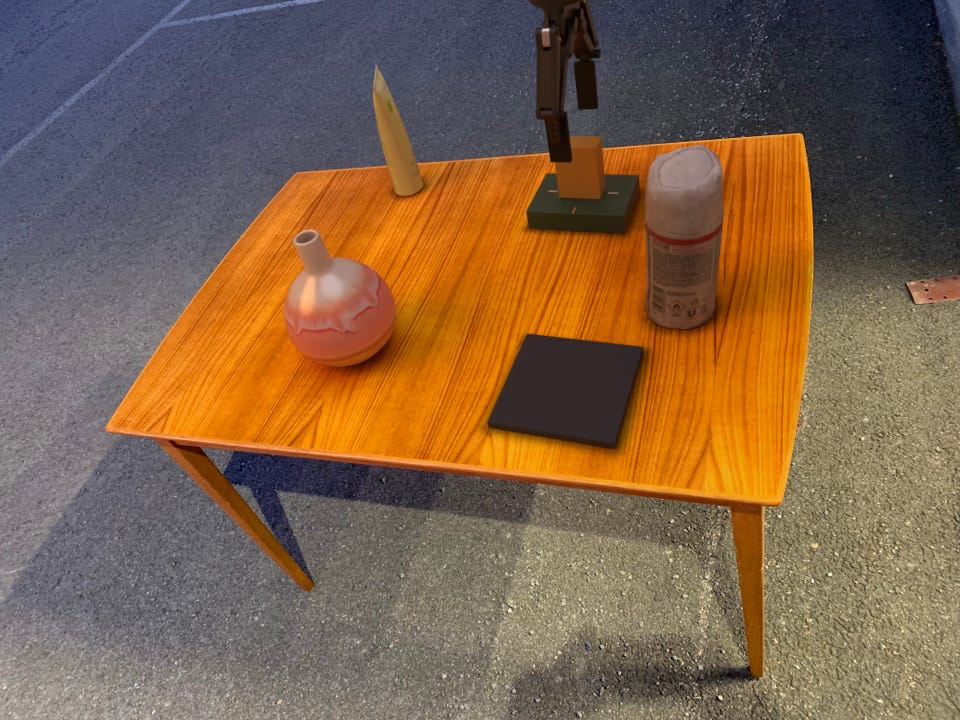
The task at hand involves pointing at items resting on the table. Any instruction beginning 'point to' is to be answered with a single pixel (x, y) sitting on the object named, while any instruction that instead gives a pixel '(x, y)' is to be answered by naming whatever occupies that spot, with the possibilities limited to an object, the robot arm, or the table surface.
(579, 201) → the green rectangular block
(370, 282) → the vase
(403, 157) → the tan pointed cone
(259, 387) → the table surface
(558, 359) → the mat
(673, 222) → the spray can
